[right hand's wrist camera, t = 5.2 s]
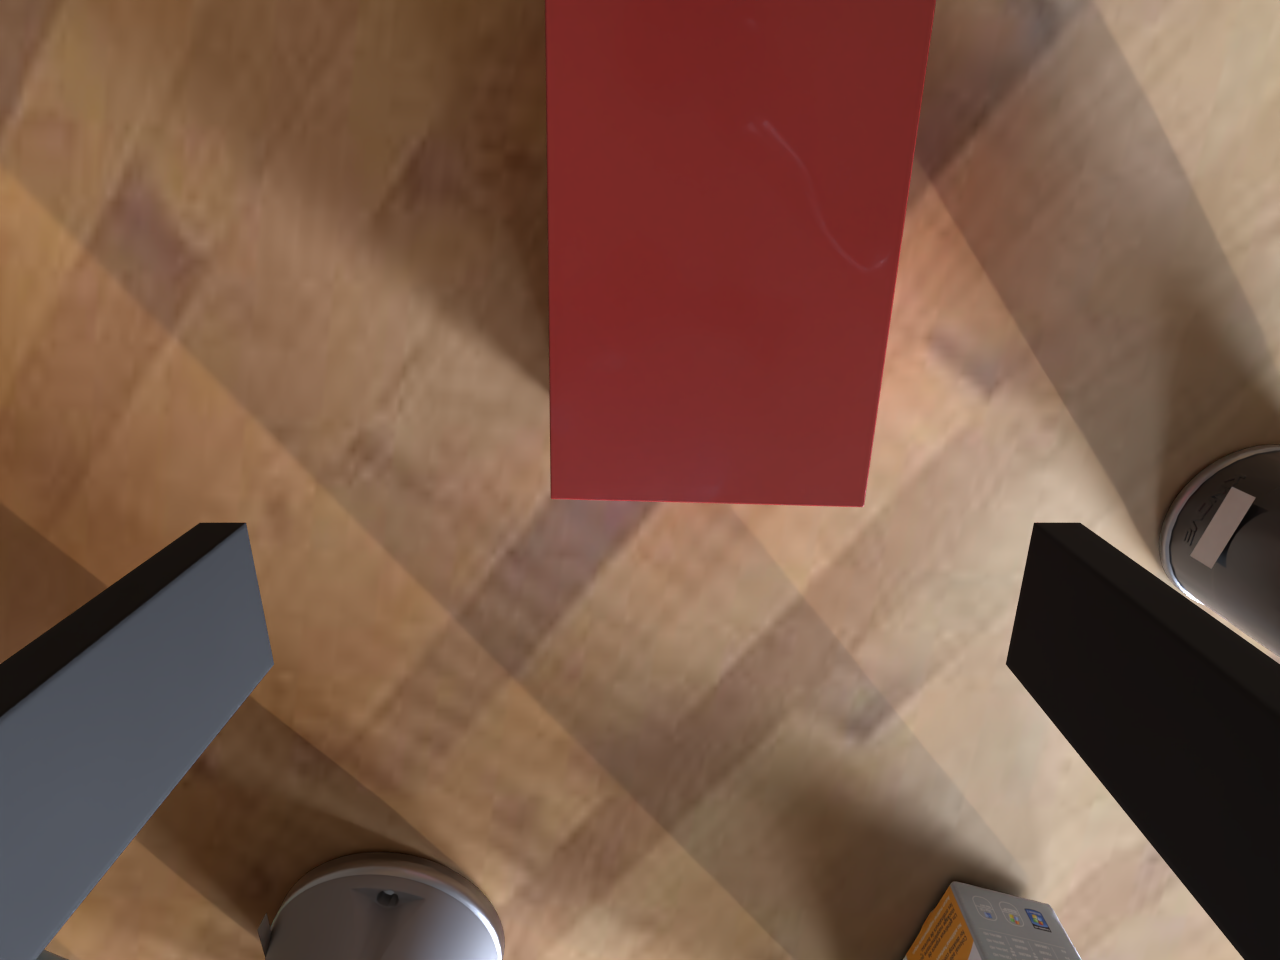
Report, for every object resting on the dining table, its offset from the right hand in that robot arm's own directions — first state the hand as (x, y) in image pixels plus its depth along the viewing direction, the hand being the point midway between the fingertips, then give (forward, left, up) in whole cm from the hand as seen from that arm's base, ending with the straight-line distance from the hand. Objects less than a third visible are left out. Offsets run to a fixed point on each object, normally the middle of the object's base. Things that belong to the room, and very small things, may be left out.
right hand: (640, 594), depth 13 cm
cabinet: (+2, -5, -26) cm, 26 cm away
